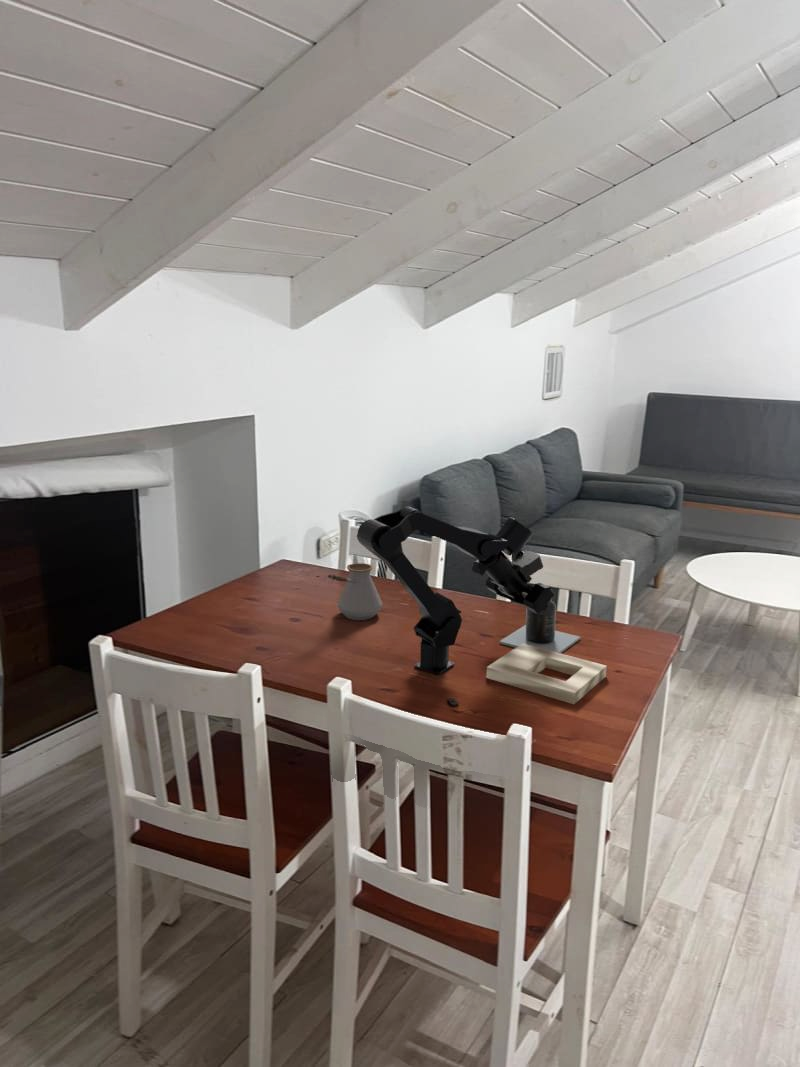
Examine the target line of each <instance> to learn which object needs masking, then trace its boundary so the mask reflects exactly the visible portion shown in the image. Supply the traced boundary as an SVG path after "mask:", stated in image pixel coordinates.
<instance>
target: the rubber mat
mask: <svg viewBox="0 0 800 1067" xmlns="http://www.w3.org/2000/svg"><path fill="white" fill-rule="evenodd" d="M580 640H581V636H578V635H574V634H572V633H570V634H569V633H566V632H563V631H560V630H559V631H558V630H555V638H554V640H553V641H552V642H550V643H546V644H538V643H533V642H530V641H528V640H527V638H526V624H524V625H523V626H521V627H520V628H518V629H517V630H515V631H514V632H512V633H510V634H508V635H507V636H506V637H504V638H502V639H500V640H499V644H500V645H504V646H508V647H511V648H513V649H515V648H516V647H518V646H519V645H521V644H522V643H523V644H527V645H531V646H534V647H538V648H542V649H546V650H549V651H553V652H557V653H561V654H563V653H564V652H565V651H566V650H567V649H569V648H570V647H572V646H573V645H575V644H576V643H577V642H579V641H580Z"/></svg>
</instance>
